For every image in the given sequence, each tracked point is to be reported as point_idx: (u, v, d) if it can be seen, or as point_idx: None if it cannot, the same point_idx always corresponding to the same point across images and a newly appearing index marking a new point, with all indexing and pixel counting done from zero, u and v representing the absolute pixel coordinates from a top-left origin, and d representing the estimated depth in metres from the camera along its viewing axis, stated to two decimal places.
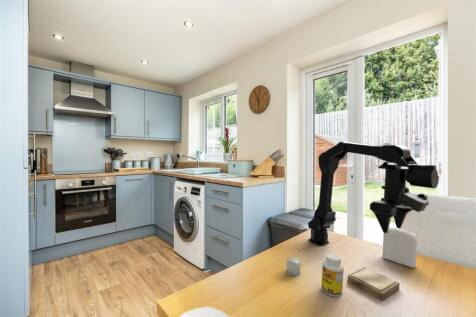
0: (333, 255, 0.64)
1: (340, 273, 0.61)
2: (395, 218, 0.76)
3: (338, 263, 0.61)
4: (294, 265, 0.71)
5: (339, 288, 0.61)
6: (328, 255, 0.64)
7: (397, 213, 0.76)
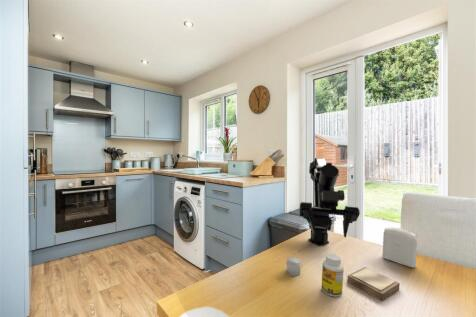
0: (333, 255, 0.64)
1: (340, 273, 0.61)
2: (343, 229, 0.72)
3: (338, 263, 0.61)
4: (294, 265, 0.71)
5: (339, 288, 0.61)
6: (328, 255, 0.64)
7: (343, 223, 0.73)
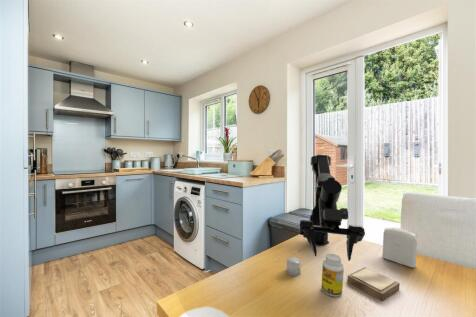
0: (333, 255, 0.64)
1: (340, 273, 0.61)
2: (347, 251, 0.66)
3: (338, 263, 0.61)
4: (294, 265, 0.71)
5: (339, 288, 0.61)
6: (328, 255, 0.64)
7: (347, 244, 0.67)
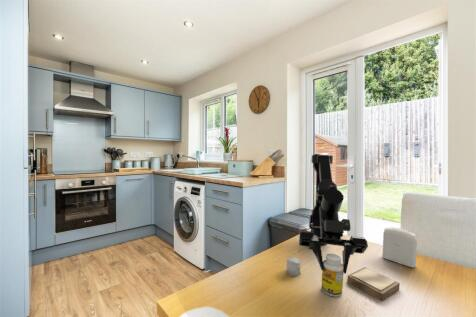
0: (333, 255, 0.64)
1: (340, 273, 0.61)
2: (343, 263, 0.64)
3: (338, 263, 0.61)
4: (294, 265, 0.71)
5: (339, 288, 0.61)
6: (328, 255, 0.64)
7: (343, 256, 0.65)
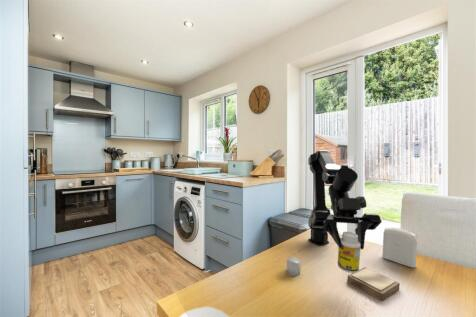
0: (349, 233, 0.64)
1: (358, 249, 0.61)
2: (358, 240, 0.65)
3: (356, 240, 0.62)
4: (294, 265, 0.71)
5: (357, 264, 0.62)
6: (345, 233, 0.64)
7: (358, 233, 0.66)
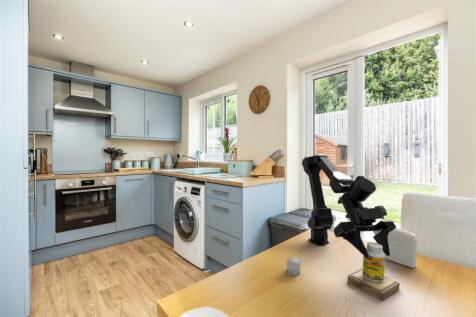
0: (373, 243, 0.67)
1: (384, 259, 0.65)
2: None
3: None
4: (294, 265, 0.71)
5: (383, 273, 0.65)
6: (370, 244, 0.67)
7: (379, 240, 0.70)
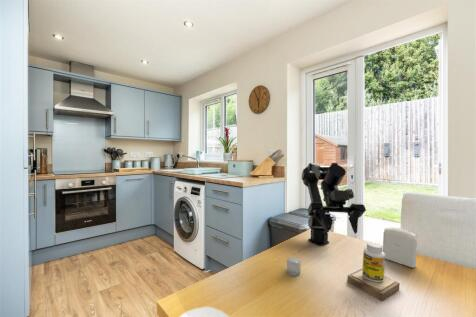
0: (373, 243, 0.67)
1: (384, 259, 0.65)
2: (352, 226, 0.77)
3: None
4: (294, 265, 0.71)
5: (383, 273, 0.65)
6: (370, 244, 0.67)
7: (351, 220, 0.78)
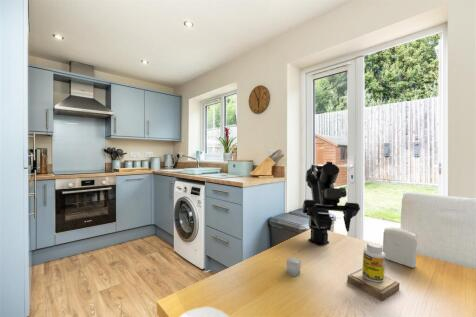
0: (373, 243, 0.67)
1: (384, 259, 0.65)
2: (345, 224, 0.77)
3: None
4: (294, 265, 0.71)
5: (383, 273, 0.65)
6: (370, 244, 0.67)
7: (345, 219, 0.78)
